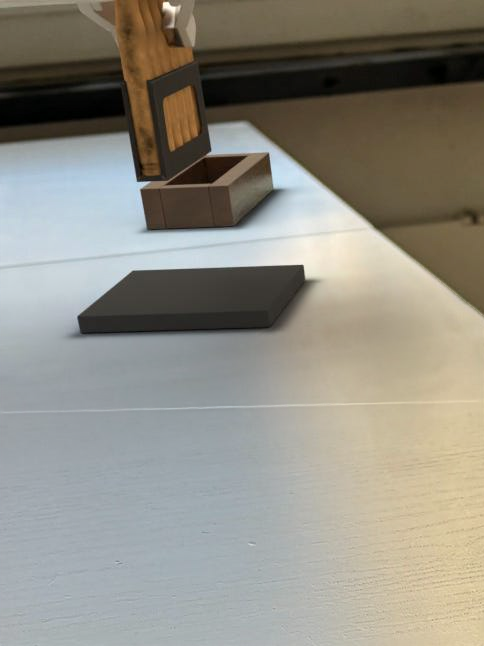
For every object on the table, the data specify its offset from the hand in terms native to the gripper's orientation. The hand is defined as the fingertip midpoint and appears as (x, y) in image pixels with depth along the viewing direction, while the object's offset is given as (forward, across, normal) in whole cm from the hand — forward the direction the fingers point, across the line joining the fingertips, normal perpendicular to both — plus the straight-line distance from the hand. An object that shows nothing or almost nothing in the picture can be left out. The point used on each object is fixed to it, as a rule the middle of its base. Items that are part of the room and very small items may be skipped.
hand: (158, 39), depth 79 cm
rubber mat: (+10, 0, +11) cm, 15 cm away
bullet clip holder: (+34, +8, -13) cm, 37 cm away
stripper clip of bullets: (+4, 0, +5) cm, 7 cm away
